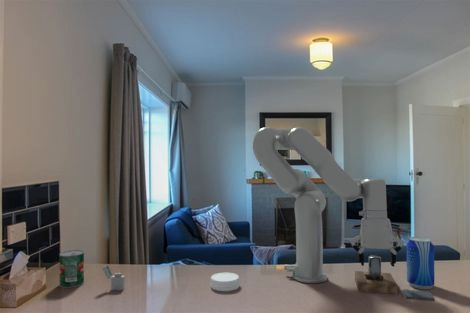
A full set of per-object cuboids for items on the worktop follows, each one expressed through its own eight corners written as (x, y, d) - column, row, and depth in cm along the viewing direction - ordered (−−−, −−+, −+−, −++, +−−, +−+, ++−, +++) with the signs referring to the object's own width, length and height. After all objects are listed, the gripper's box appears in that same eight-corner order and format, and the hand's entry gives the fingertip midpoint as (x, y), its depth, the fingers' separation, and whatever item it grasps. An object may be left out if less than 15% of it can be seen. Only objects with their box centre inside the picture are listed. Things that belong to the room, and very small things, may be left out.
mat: (406, 298, 112) (406, 296, 112) (402, 291, 118) (402, 289, 118) (434, 300, 110) (434, 298, 110) (428, 293, 116) (428, 291, 116)
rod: (369, 287, 121) (369, 258, 121) (367, 283, 125) (367, 255, 125) (382, 288, 120) (381, 259, 120) (380, 284, 124) (380, 255, 124)
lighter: (124, 288, 122) (124, 264, 122) (123, 290, 120) (123, 266, 120) (104, 288, 122) (104, 264, 122) (102, 289, 120) (102, 266, 120)
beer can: (438, 291, 118) (437, 242, 118) (410, 289, 120) (410, 241, 120) (429, 282, 126) (429, 236, 126) (404, 280, 128) (403, 236, 128)
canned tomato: (55, 284, 126) (55, 253, 126) (78, 278, 131) (78, 248, 132) (65, 290, 120) (65, 257, 120) (88, 283, 126) (88, 252, 126)
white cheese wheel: (245, 288, 122) (245, 278, 122) (219, 294, 116) (219, 283, 116) (230, 280, 130) (230, 270, 130) (205, 285, 125) (205, 274, 125)
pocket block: (358, 291, 118) (358, 282, 118) (354, 279, 130) (354, 270, 130) (397, 294, 115) (397, 284, 115) (390, 281, 127) (390, 273, 127)
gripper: (349, 216, 121) (351, 267, 121) (405, 216, 117) (407, 269, 117) (347, 213, 128) (349, 261, 128) (400, 213, 124) (402, 262, 124)
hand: (377, 265), depth 122 cm, fingers open, 9 cm apart
